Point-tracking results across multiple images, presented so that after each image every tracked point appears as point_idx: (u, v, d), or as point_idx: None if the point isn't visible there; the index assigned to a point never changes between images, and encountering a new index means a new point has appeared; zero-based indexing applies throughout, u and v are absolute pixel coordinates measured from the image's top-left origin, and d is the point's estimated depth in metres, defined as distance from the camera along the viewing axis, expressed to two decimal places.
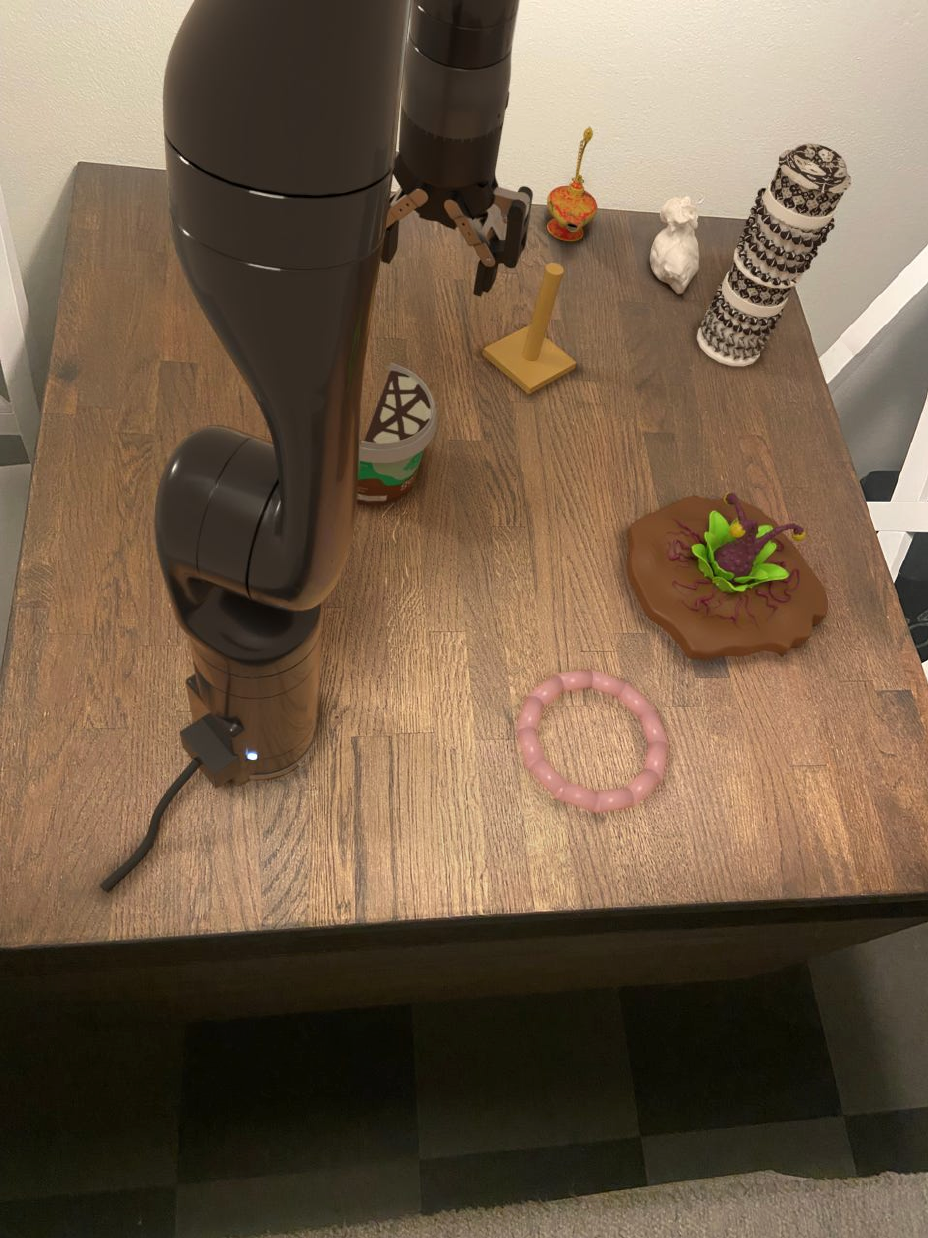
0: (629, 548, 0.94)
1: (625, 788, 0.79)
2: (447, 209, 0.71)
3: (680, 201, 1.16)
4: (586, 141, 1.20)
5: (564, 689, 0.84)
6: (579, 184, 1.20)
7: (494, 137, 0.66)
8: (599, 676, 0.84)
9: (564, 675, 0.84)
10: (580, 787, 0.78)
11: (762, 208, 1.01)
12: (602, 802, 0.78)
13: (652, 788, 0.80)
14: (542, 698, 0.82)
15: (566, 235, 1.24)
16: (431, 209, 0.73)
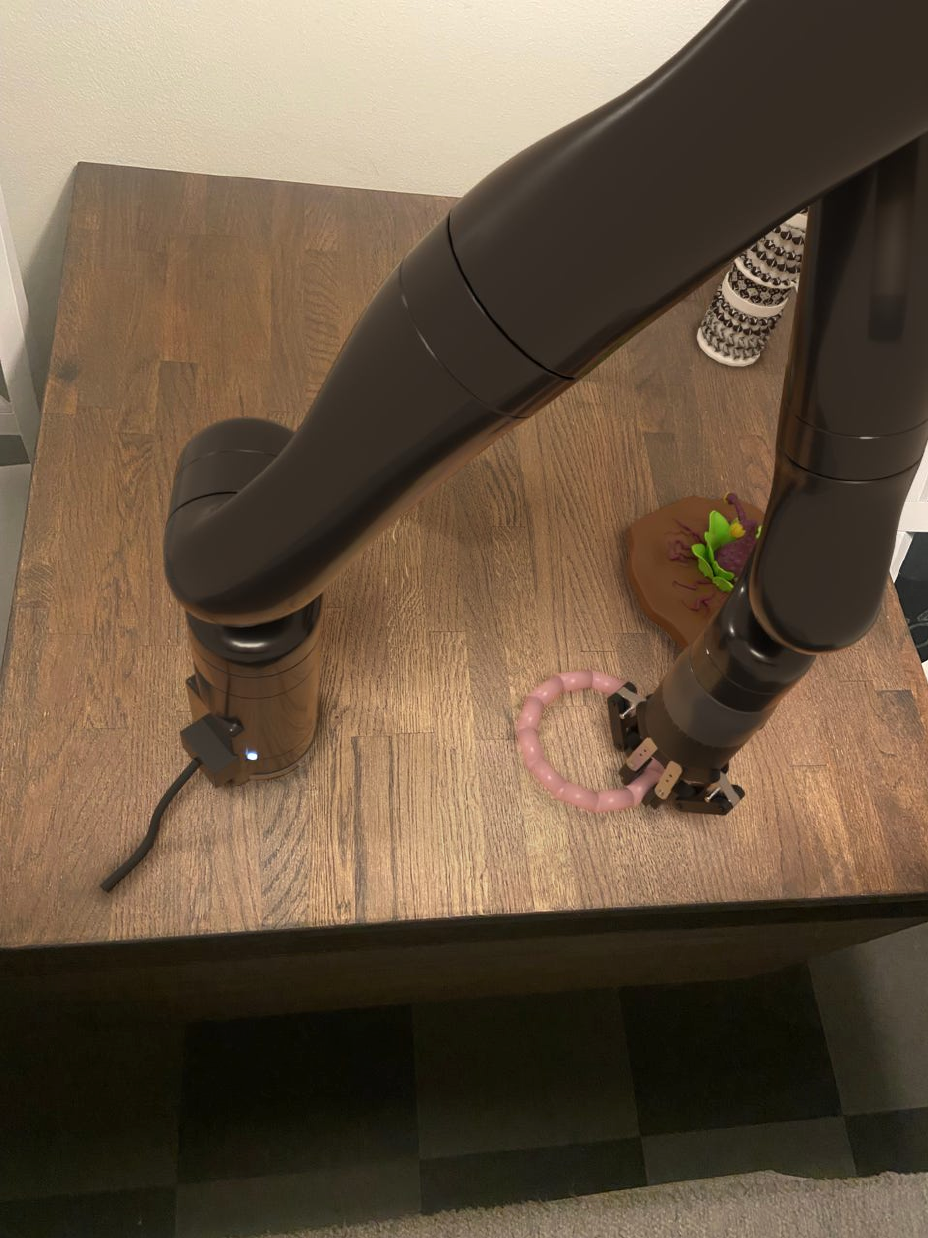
0: (629, 548, 0.94)
1: (625, 788, 0.79)
2: (670, 764, 0.71)
3: None
4: None
5: (565, 689, 0.84)
6: None
7: (736, 748, 0.66)
8: (599, 676, 0.84)
9: (564, 676, 0.84)
10: (581, 787, 0.78)
11: None
12: (602, 802, 0.78)
13: None
14: (542, 699, 0.82)
15: None
16: (658, 753, 0.73)
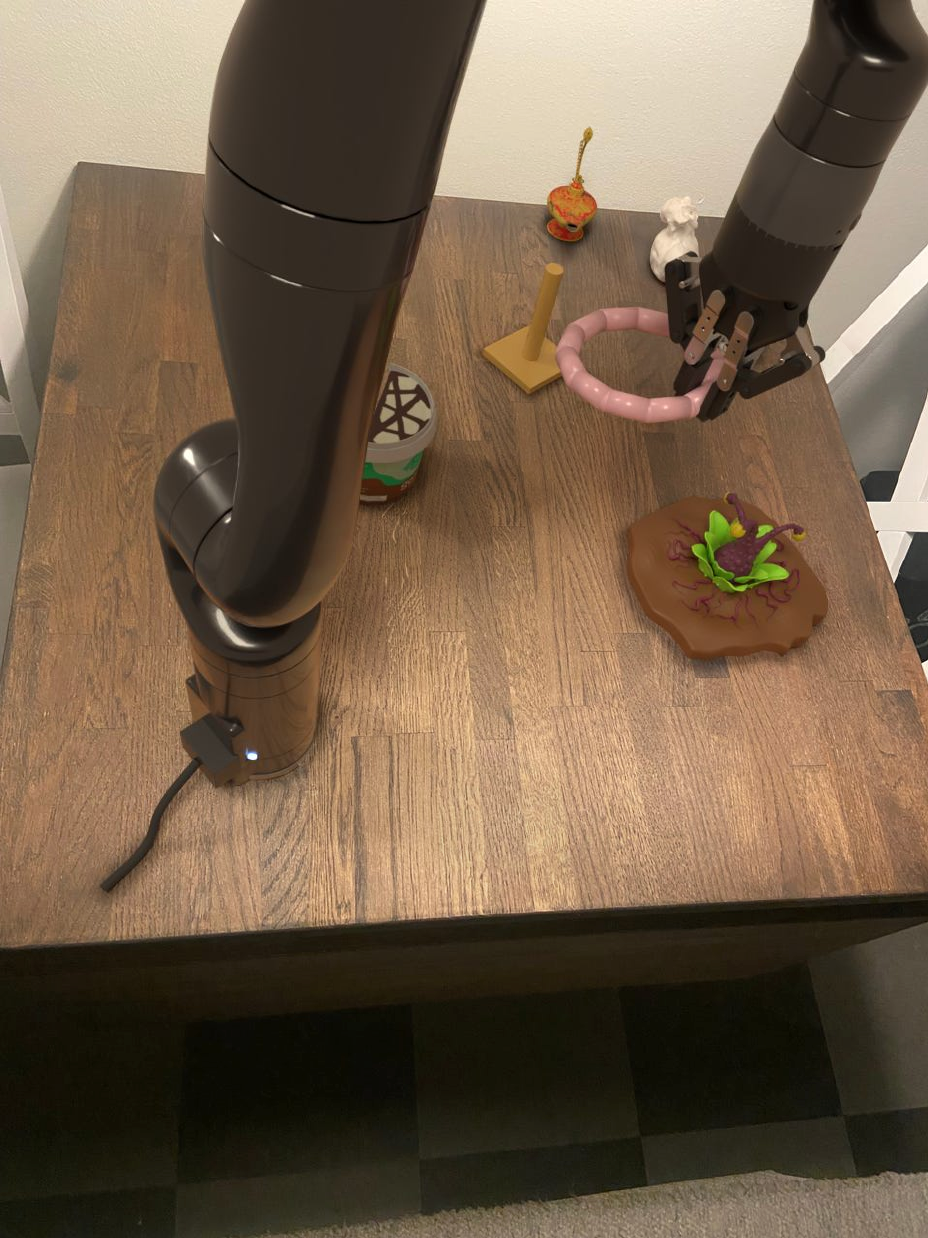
0: (629, 548, 0.94)
1: None
2: (739, 318, 0.62)
3: (680, 201, 1.16)
4: (586, 141, 1.20)
5: (607, 324, 0.76)
6: (579, 184, 1.20)
7: (823, 255, 0.56)
8: (645, 310, 0.76)
9: (606, 310, 0.76)
10: None
11: None
12: (655, 405, 0.69)
13: None
14: (583, 326, 0.74)
15: (566, 235, 1.24)
16: (723, 320, 0.64)
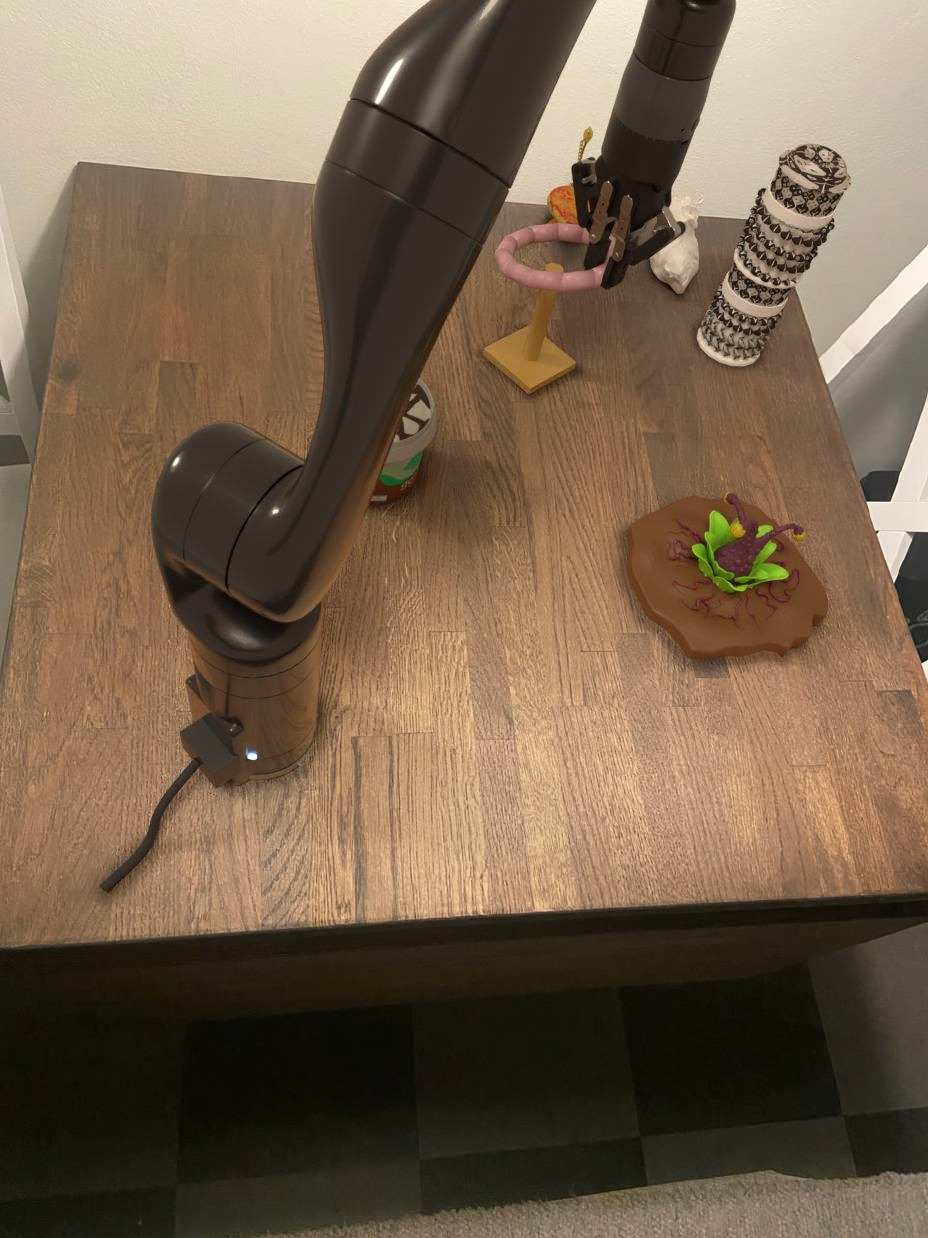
0: (629, 548, 0.94)
1: (587, 270, 0.93)
2: (623, 201, 0.85)
3: (680, 201, 1.16)
4: (586, 141, 1.20)
5: (535, 236, 1.00)
6: None
7: (674, 148, 0.80)
8: (563, 223, 1.01)
9: None
10: None
11: (762, 208, 1.00)
12: (567, 276, 0.92)
13: None
14: (515, 236, 0.99)
15: None
16: (613, 205, 0.87)
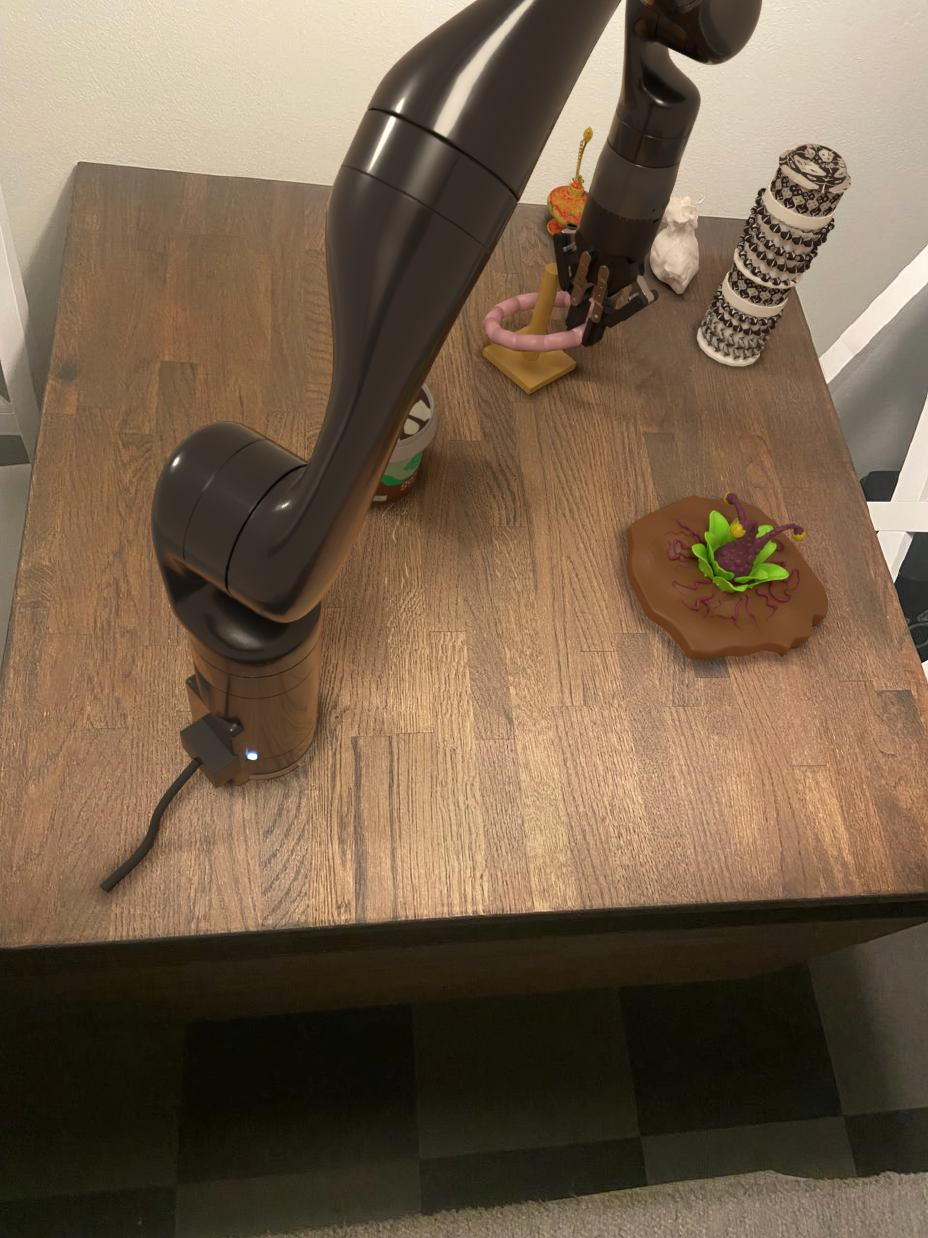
0: (629, 548, 0.94)
1: (568, 331, 1.00)
2: (600, 270, 0.91)
3: (680, 201, 1.16)
4: (586, 141, 1.20)
5: (520, 304, 1.08)
6: (579, 184, 1.20)
7: (646, 225, 0.86)
8: None
9: (519, 296, 1.08)
10: None
11: (762, 208, 1.00)
12: (548, 337, 0.99)
13: None
14: (501, 306, 1.06)
15: None
16: (592, 272, 0.94)
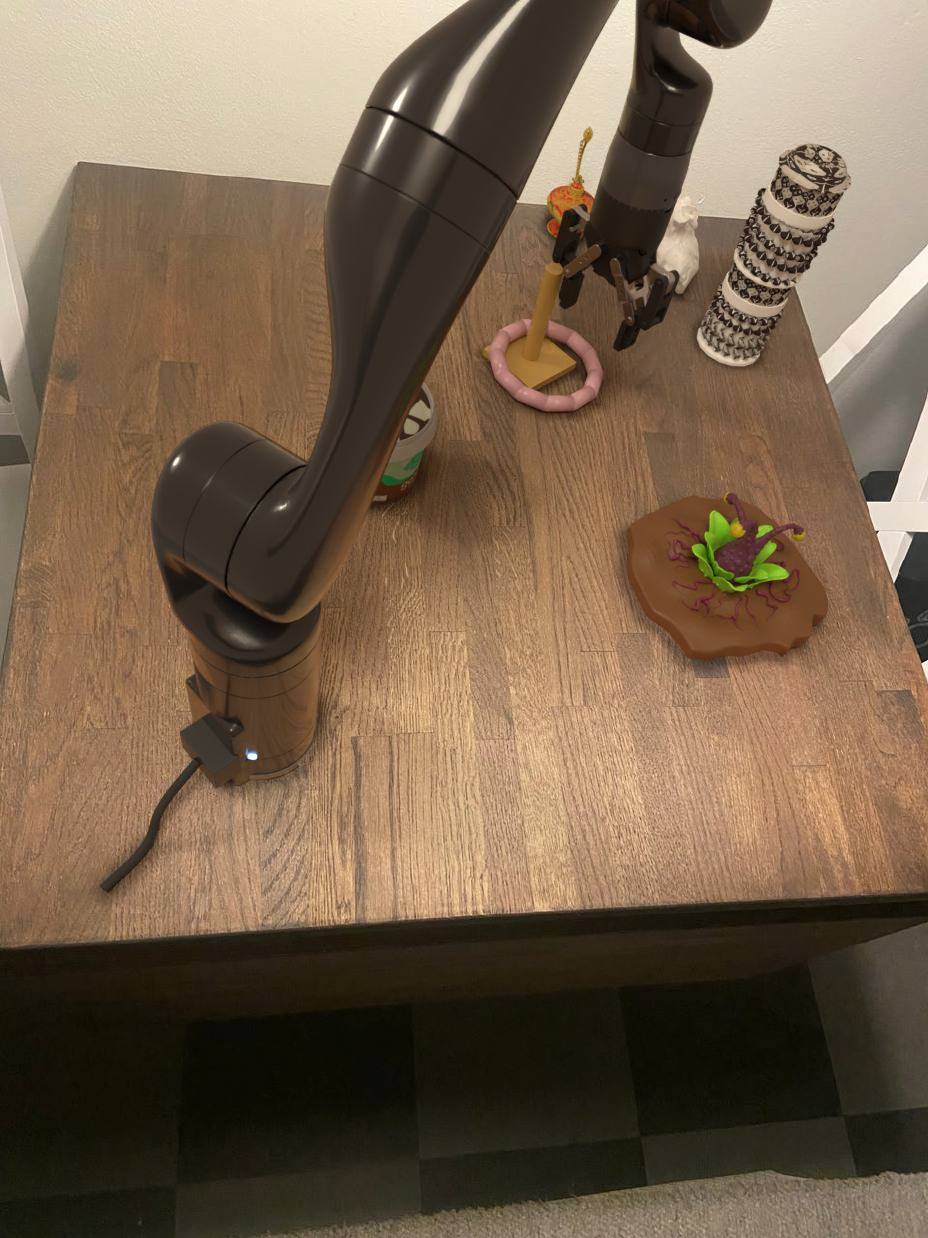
0: (629, 548, 0.94)
1: (568, 395, 1.05)
2: (611, 266, 0.90)
3: (680, 201, 1.16)
4: (586, 141, 1.20)
5: (526, 331, 1.09)
6: (579, 184, 1.20)
7: (658, 216, 0.84)
8: (553, 323, 1.10)
9: (526, 320, 1.09)
10: (535, 390, 1.04)
11: (762, 208, 1.00)
12: (551, 400, 1.03)
13: (589, 398, 1.06)
14: (509, 332, 1.07)
15: None
16: (602, 266, 0.92)
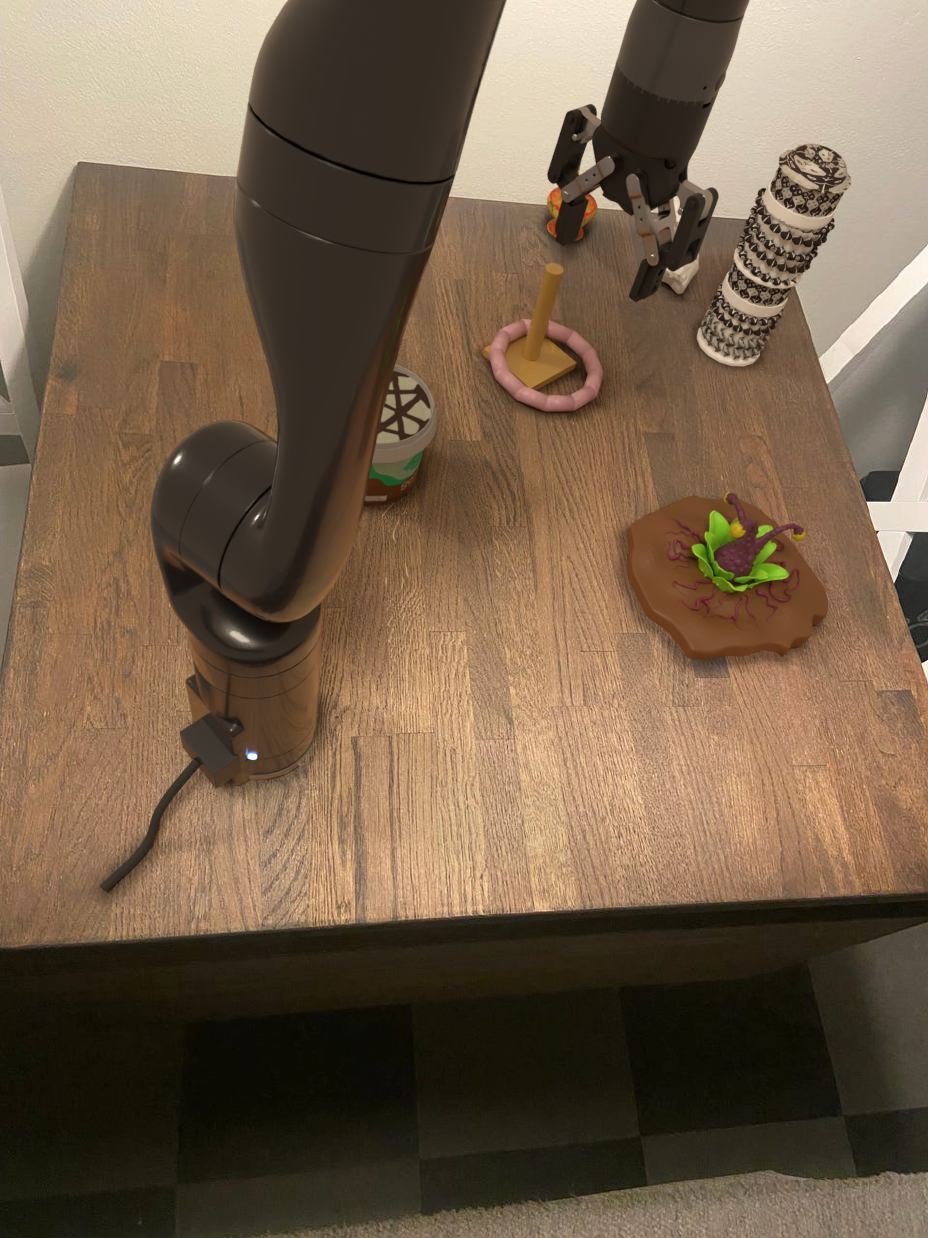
0: (629, 548, 0.94)
1: (568, 395, 1.05)
2: (628, 185, 0.69)
3: None
4: None
5: (526, 331, 1.09)
6: None
7: (693, 111, 0.63)
8: (553, 323, 1.10)
9: (526, 320, 1.09)
10: (535, 390, 1.04)
11: (762, 208, 1.00)
12: (551, 400, 1.03)
13: (589, 398, 1.06)
14: (509, 332, 1.07)
15: None
16: (615, 187, 0.71)
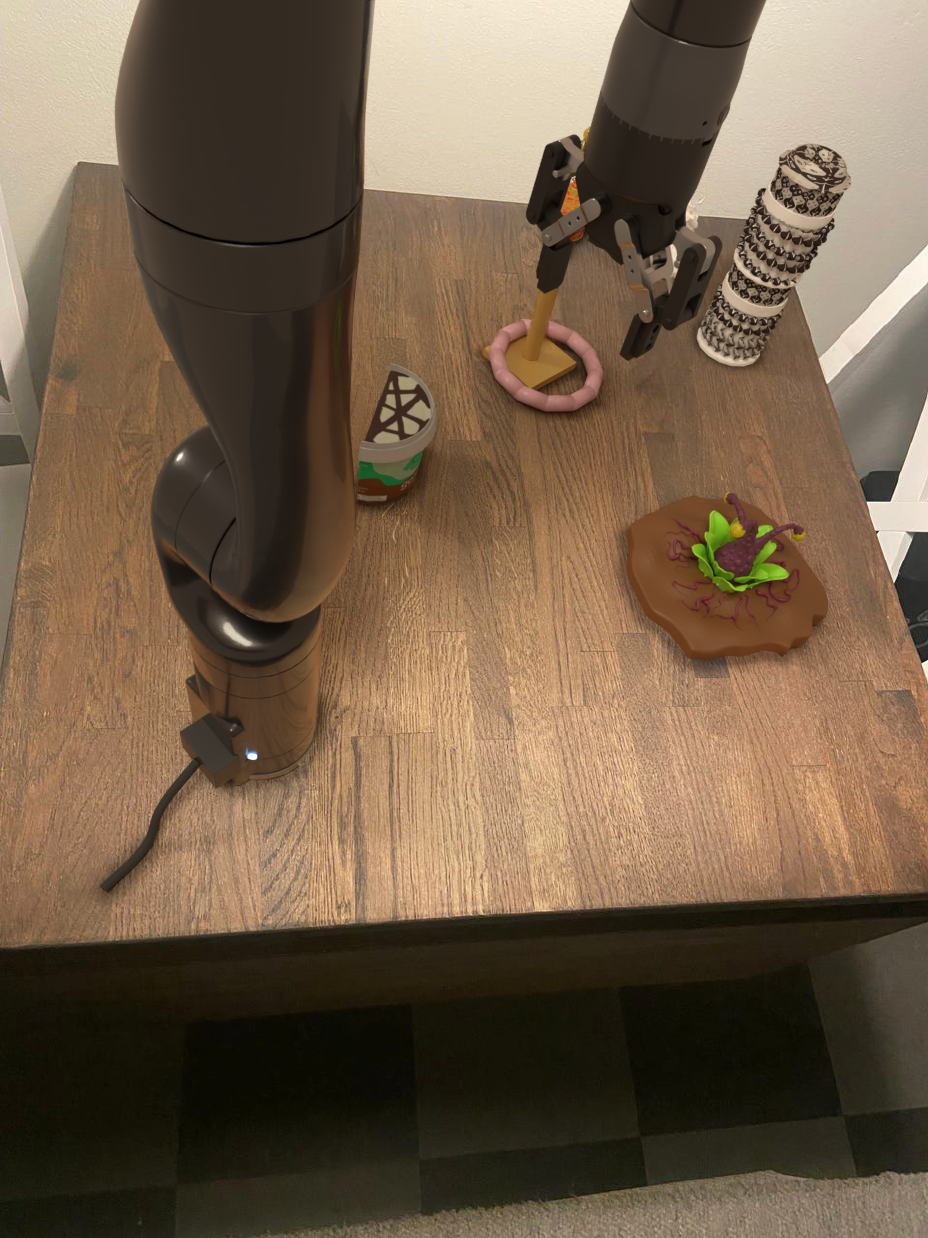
0: (629, 548, 0.94)
1: (568, 395, 1.05)
2: (616, 232, 0.59)
3: None
4: None
5: (526, 331, 1.09)
6: None
7: (691, 151, 0.53)
8: (553, 323, 1.10)
9: (526, 320, 1.09)
10: (535, 390, 1.04)
11: (762, 208, 1.00)
12: (551, 400, 1.03)
13: (589, 398, 1.06)
14: (509, 332, 1.07)
15: None
16: (602, 232, 0.61)
